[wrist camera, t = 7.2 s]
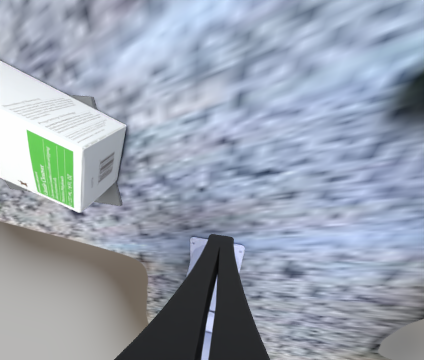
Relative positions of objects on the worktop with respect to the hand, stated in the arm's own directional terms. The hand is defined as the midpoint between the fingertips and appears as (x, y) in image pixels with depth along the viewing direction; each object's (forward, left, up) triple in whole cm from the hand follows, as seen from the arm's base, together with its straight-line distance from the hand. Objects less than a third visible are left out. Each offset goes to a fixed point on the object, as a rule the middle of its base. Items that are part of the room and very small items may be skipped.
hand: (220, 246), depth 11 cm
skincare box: (0, +12, -7) cm, 14 cm away
